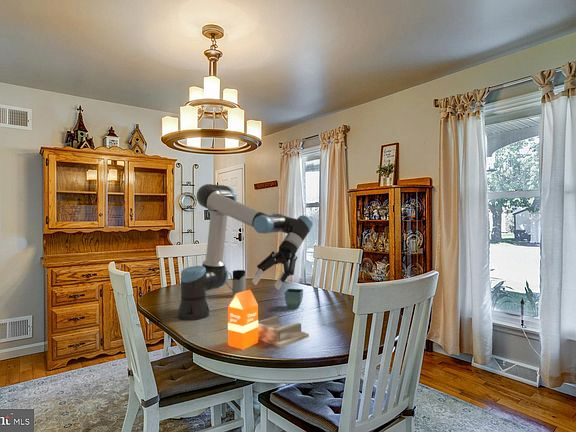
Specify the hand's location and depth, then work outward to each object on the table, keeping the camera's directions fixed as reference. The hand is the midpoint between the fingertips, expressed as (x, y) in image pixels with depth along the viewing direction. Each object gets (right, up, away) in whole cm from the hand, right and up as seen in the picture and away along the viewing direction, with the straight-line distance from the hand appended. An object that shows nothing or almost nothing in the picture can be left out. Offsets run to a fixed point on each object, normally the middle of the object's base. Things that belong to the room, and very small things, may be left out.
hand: (264, 285), depth 141 cm
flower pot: (+13, -21, +44) cm, 51 cm away
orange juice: (-8, -21, -7) cm, 24 cm away
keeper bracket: (+5, -21, +1) cm, 21 cm away
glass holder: (-23, -21, +72) cm, 79 cm away
